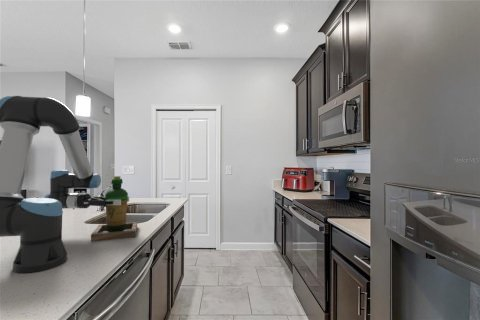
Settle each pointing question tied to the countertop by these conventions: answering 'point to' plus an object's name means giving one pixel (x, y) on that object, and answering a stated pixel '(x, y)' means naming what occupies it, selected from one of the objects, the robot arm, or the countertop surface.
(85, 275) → the countertop surface
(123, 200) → the bottle
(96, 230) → the walnut frame
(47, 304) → the countertop surface
